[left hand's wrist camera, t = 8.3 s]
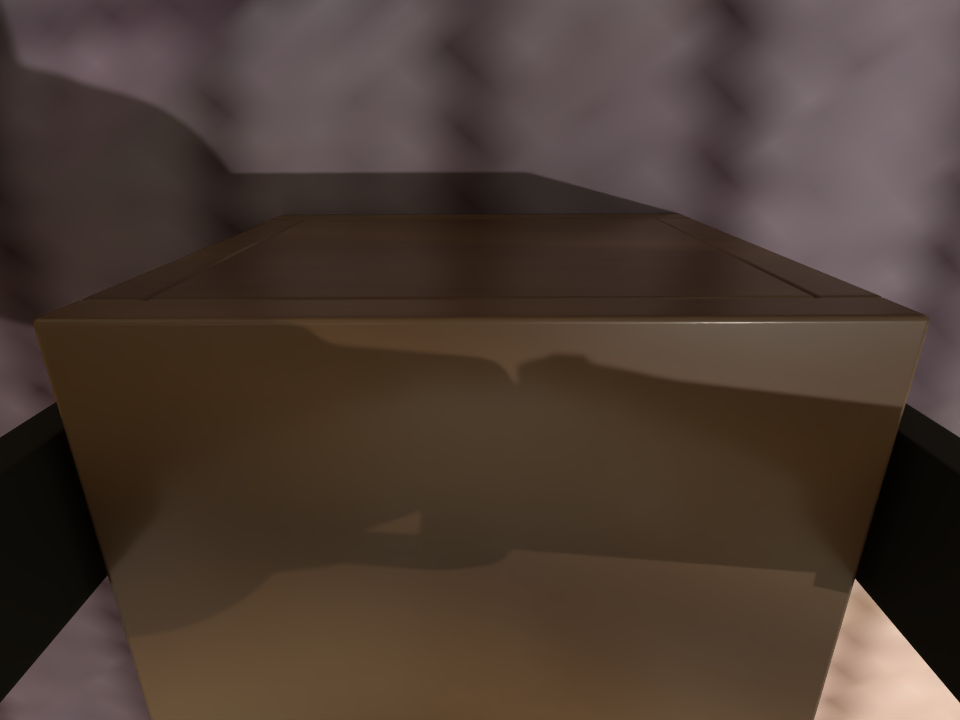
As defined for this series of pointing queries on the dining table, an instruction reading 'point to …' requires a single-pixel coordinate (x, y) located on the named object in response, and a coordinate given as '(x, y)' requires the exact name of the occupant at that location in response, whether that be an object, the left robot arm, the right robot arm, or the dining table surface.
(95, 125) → the dining table surface
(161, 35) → the dining table surface
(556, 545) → the cabinet
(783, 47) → the dining table surface
